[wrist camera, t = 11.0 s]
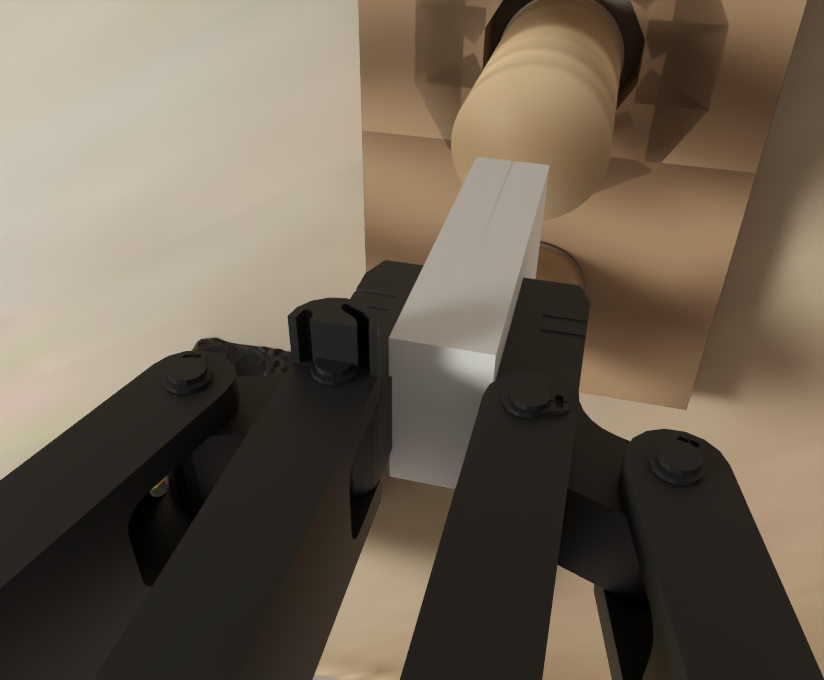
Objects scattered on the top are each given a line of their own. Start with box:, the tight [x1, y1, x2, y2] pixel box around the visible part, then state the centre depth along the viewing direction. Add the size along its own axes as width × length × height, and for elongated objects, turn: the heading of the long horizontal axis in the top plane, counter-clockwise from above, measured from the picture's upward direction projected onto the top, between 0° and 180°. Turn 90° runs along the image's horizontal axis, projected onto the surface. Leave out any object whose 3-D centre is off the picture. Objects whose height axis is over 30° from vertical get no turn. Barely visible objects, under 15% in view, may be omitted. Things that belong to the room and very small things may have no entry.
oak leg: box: [451, 0, 624, 221], centre depth 23 cm, size 4×4×10 cm
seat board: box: [358, 0, 807, 410], centre depth 25 cm, size 22×14×10 cm, turn 179°
